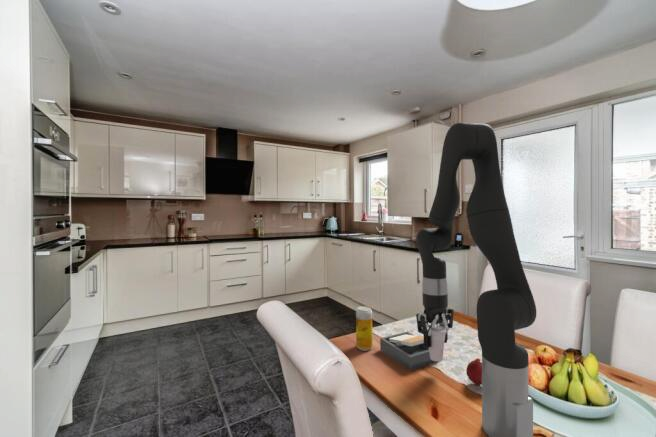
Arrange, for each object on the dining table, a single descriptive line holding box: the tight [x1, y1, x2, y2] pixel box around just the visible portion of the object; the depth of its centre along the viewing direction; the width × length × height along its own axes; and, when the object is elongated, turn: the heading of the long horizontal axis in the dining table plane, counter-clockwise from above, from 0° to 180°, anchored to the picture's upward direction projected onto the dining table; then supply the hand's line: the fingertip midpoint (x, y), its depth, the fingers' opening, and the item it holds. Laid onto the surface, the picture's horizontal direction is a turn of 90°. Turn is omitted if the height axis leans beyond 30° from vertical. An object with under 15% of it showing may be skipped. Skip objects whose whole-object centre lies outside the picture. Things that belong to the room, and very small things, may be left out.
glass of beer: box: [355, 305, 374, 352], centre depth 110 cm, size 6×6×15 cm
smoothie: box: [427, 324, 448, 363], centre depth 92 cm, size 6×6×14 cm
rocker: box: [389, 334, 424, 347], centre depth 104 cm, size 12×10×2 cm
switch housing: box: [379, 331, 437, 372], centre depth 104 cm, size 16×13×4 cm
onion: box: [465, 357, 482, 386], centre depth 86 cm, size 6×6×8 cm
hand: (436, 344), depth 92 cm, fingers closed on smoothie, 6 cm apart
